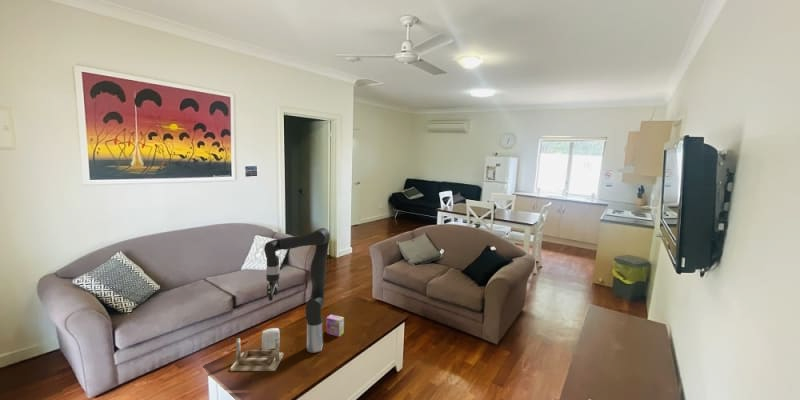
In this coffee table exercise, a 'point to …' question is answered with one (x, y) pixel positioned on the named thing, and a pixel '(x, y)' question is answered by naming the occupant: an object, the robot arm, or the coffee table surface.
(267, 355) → the beige hollow frame piece
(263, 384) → the coffee table surface
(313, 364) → the coffee table surface
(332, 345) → the coffee table surface
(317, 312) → the robot arm
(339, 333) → the box
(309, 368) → the coffee table surface
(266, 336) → the photo printer
